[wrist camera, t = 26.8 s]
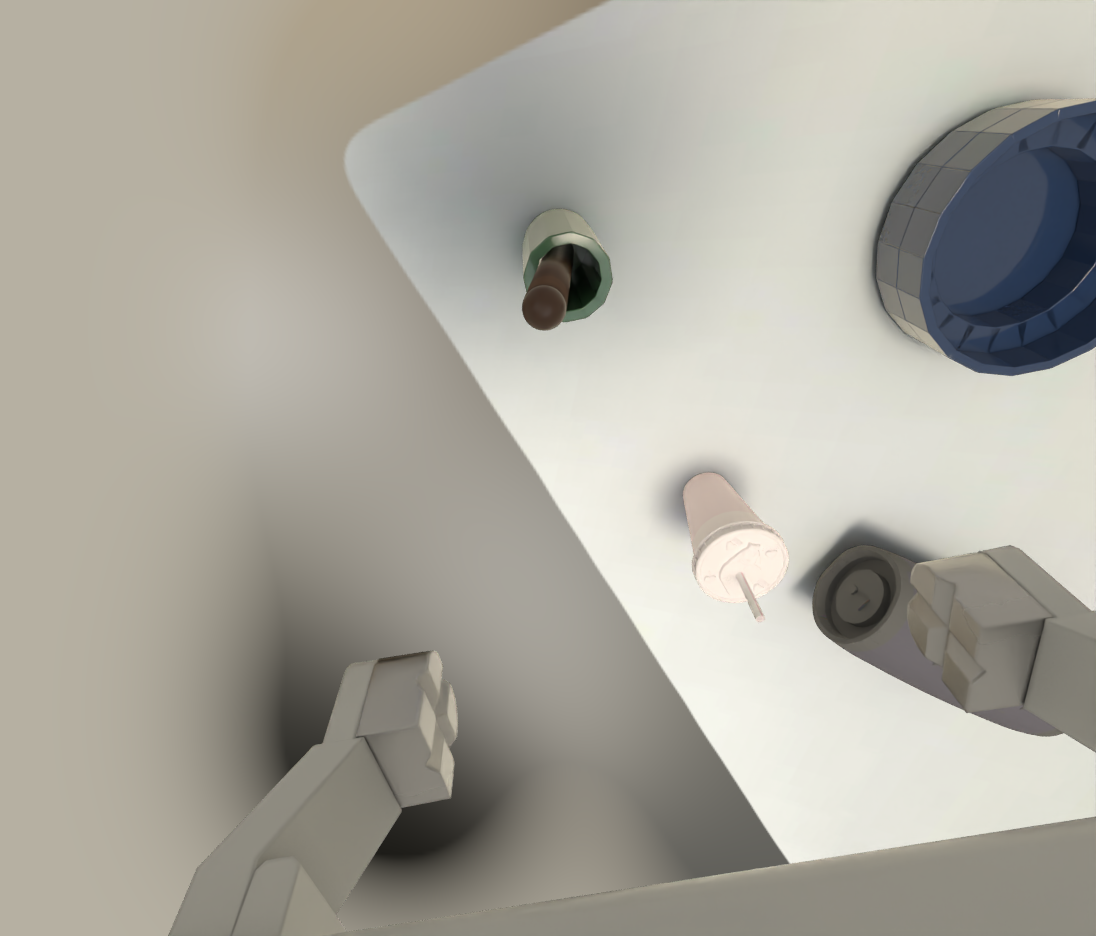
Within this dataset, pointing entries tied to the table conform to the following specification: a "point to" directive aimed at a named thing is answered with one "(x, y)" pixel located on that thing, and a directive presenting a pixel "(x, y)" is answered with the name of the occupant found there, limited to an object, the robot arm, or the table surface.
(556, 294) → the stick
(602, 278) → the holder
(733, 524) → the smoothie
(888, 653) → the bluetooth speaker
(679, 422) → the table surface
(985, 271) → the bowl
